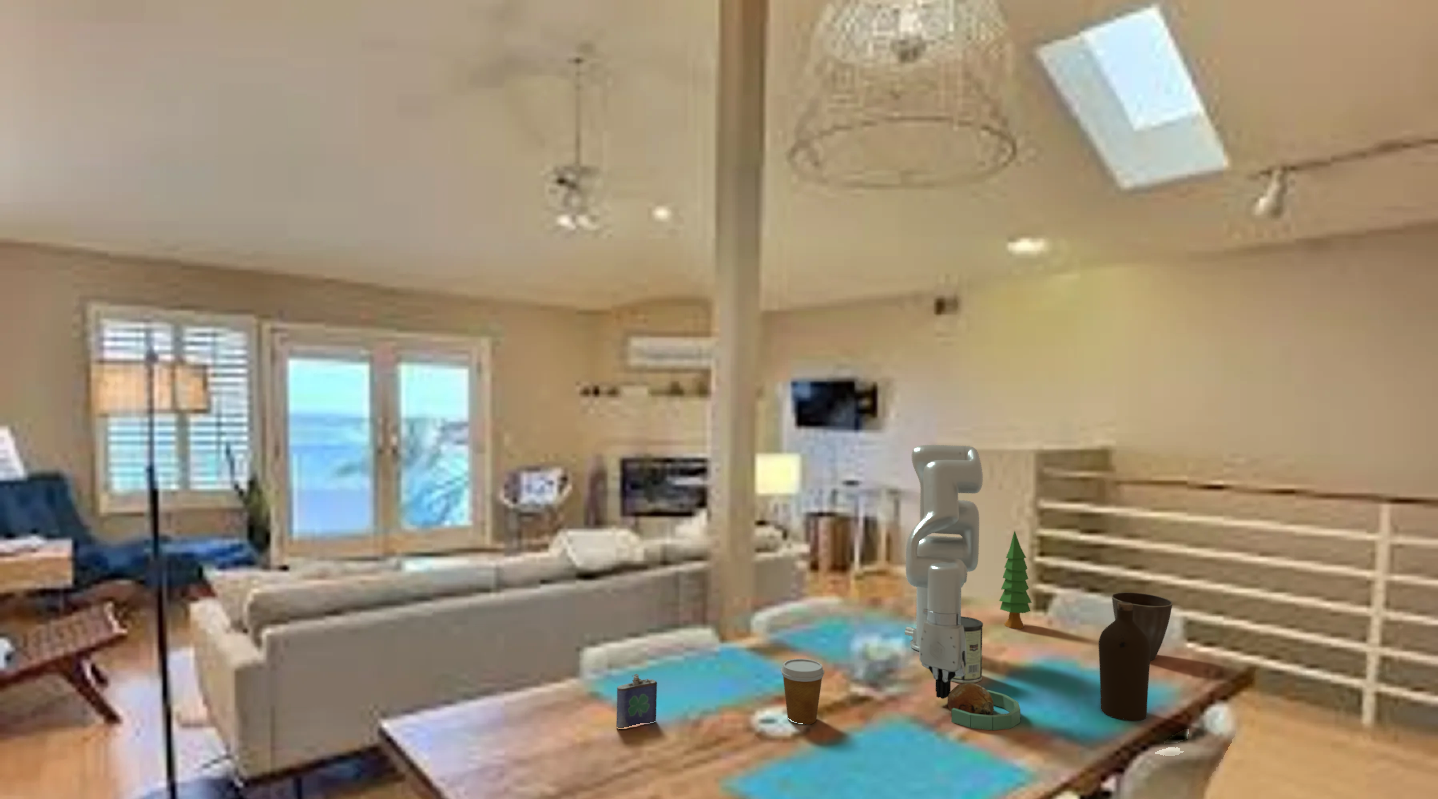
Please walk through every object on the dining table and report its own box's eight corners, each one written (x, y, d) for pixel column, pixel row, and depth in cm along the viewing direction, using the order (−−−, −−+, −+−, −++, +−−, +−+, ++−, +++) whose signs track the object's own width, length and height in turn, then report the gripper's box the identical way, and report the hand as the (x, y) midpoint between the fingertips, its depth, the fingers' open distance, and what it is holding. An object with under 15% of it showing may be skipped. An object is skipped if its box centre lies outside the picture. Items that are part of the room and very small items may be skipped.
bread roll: (988, 722, 189) (985, 686, 193) (1001, 719, 180) (997, 681, 183) (945, 721, 190) (942, 684, 193) (955, 718, 180) (952, 680, 184)
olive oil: (1159, 722, 181) (1160, 609, 181) (1110, 722, 181) (1112, 609, 181) (1135, 704, 192) (1136, 597, 191) (1089, 703, 192) (1091, 597, 192)
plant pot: (1173, 654, 229) (1174, 597, 229) (1169, 669, 217) (1170, 608, 217) (1114, 645, 238) (1115, 589, 237) (1107, 658, 225) (1108, 600, 225)
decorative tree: (1000, 628, 253) (1002, 531, 252) (995, 620, 262) (996, 526, 262) (1033, 630, 251) (1035, 532, 251) (1027, 622, 260) (1028, 527, 260)
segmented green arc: (951, 721, 180) (951, 709, 180) (987, 701, 192) (987, 689, 192) (997, 736, 173) (998, 723, 173) (1032, 714, 185) (1032, 702, 185)
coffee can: (951, 666, 217) (952, 613, 217) (989, 676, 210) (989, 621, 210) (932, 676, 209) (933, 621, 209) (970, 686, 202) (971, 629, 202)
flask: (619, 731, 173) (619, 680, 173) (613, 726, 176) (614, 676, 176) (658, 723, 178) (659, 673, 178) (652, 718, 180) (653, 669, 180)
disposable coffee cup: (827, 714, 184) (828, 660, 184) (818, 730, 175) (819, 674, 175) (786, 708, 187) (786, 656, 187) (775, 724, 178) (775, 669, 178)
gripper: (907, 614, 193) (906, 692, 193) (965, 627, 183) (964, 709, 183) (924, 608, 199) (922, 684, 199) (981, 621, 188) (980, 701, 188)
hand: (942, 696), depth 191 cm, fingers closed
